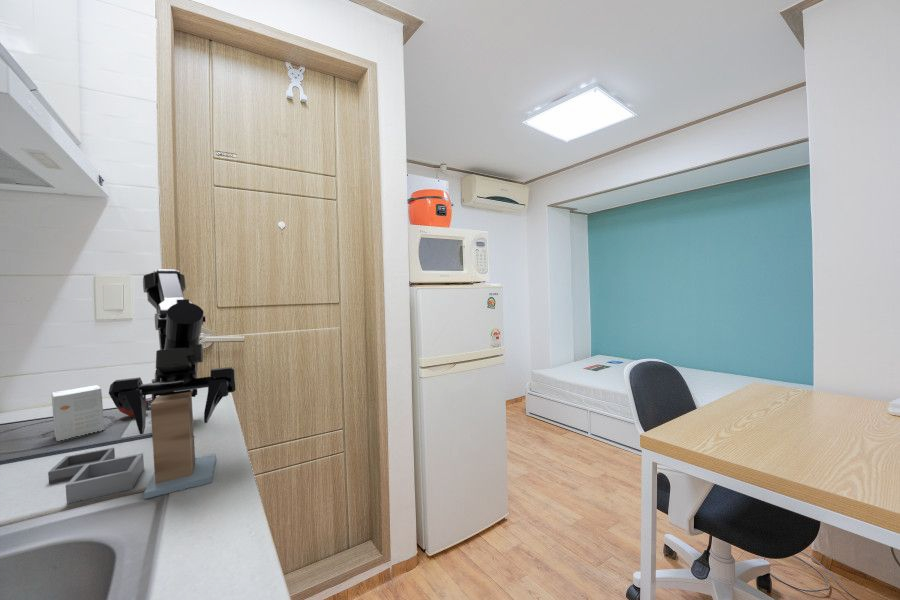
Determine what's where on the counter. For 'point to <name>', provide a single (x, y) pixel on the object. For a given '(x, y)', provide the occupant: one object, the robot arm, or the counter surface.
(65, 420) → the small box
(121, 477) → the sleeve
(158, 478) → the walnut block
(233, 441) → the counter surface
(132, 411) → the onion
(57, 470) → the tray
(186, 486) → the pad
